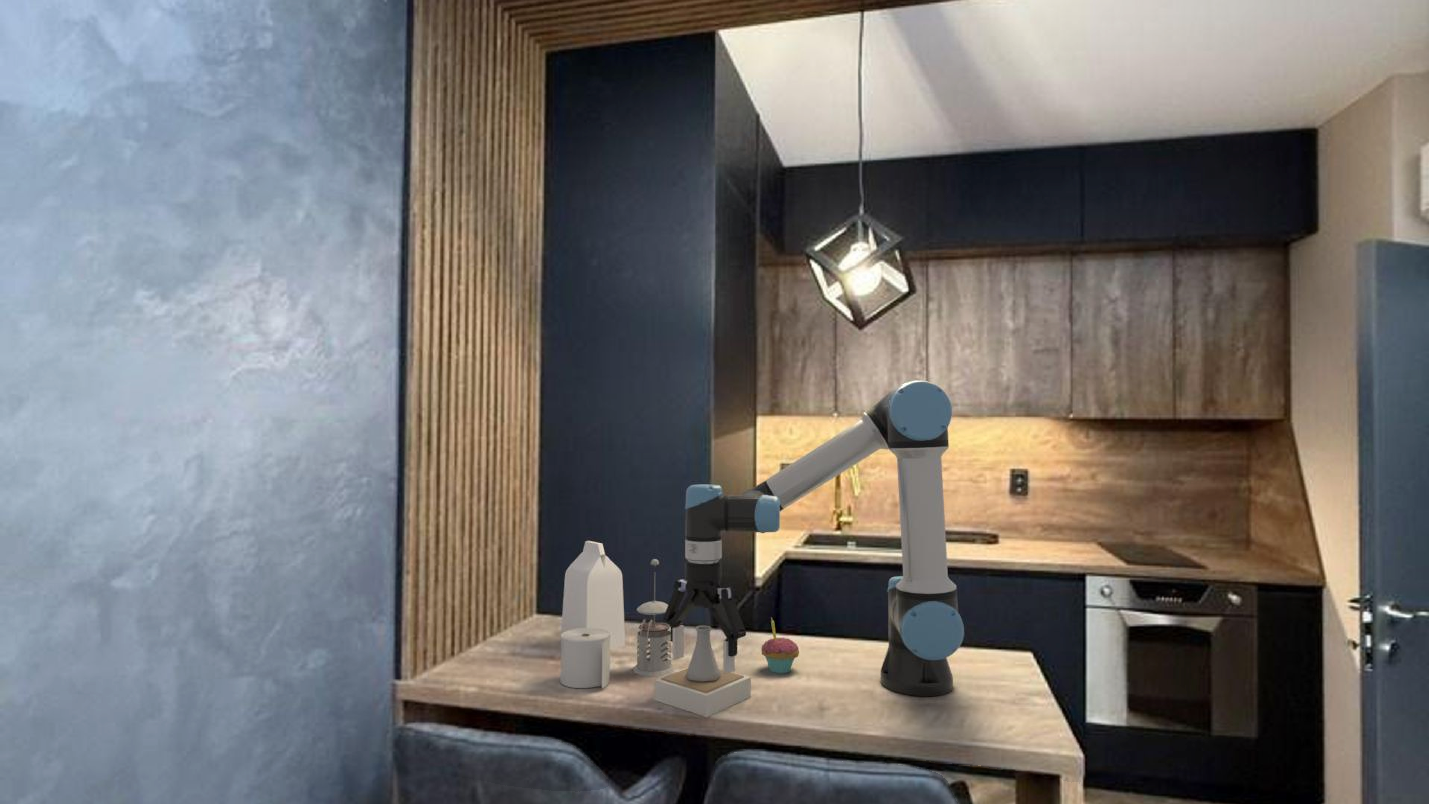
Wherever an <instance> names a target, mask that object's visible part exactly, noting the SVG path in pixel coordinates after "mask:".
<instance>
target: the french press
mask: <svg viewBox="0 0 1429 804" xmlns="http://www.w3.org/2000/svg"><path fill="white" fill-rule="evenodd" d="M659 564H660V562H659V560H658V559H656V558H653V559H651V561H650V565H652V566H659ZM653 580H654V583H653V585H654V589H653V591H654V592H653V593H654V594H653V595H654V597H653V600H652V601H648V602H645V603H642V604H641V605H639V606H638V607H637V608H636V612H637V613H639V614H641V615H646V616H647V615H648V616H653V619H650V621H647V620H646V618H644V619H643V620H642V622H641V624H640V625H638V629H639V631H637V633H636V634H637V637H636V638H637V642H636V644H637V646H636V650H637V652H636V656H637V657H636V664H635V666H633V668H632V671H634V672H633V673H634V674H636V673H637V675H639V676H643V677H663V676H666V675H669V674H671V673H674V672H675V671H676V667H675V666H674V665H673V664H672V643H671V630H669V629H671V627H670V625H669V624H668V623H667V622H656V616H657V615H664V614H665V612H666V609H667V607H668V604H667V603H665V602H664V601H657V600H656V573H654V579H653ZM646 621H647V622H646ZM668 641H669V642H668ZM668 647H669V648H668ZM674 670H675V671H674Z"/></svg>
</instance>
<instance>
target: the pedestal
mask: <svg viewBox="0 0 1429 804" xmlns="http://www.w3.org/2000/svg"><path fill="white" fill-rule="evenodd" d="M688 667H689V666H688ZM688 667H686V668H682V669H680V670H677V671H674V672H672V673H670V674H667V675H663V676H659V677H658V678H655V679H654V680H653V700H654V701H656V702H659V703H663V704H665V705H669V706H671V707H675V708H677V709H681V710H684V711H687V712H689V713H693V714H696V715H699V716H702V717H706V718H708V717H710V716H712V715H715V714H717V713H719V712H721V711H723V710H725V709H727V708H730V707H731V706H734V705H736V704H738V703H740V702H743V701H745V700H747V699H748V698H751V697H752V696H751V695H752V694H751V693H752V692H751V691H752V689H751V688H752V687H751V685H752V684H751V683H752V677H751V676H748V675H744V674H741V673H738V672H734V671H732V672H730V673H727V674H724V673H723V668H722V669H721V668H719V671H720V674H721V676H720V677H719V678H718V679H717V680H714V681H704V682H701V681H694V680H689V679H688V678H687V676H686V673H687V670H688ZM744 699H745V700H744Z"/></svg>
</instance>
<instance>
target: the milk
mask: <svg viewBox="0 0 1429 804" xmlns="http://www.w3.org/2000/svg"><path fill="white" fill-rule="evenodd" d="M564 573H565V574H564V585H563V586H564V588H563V599H562V600H563V601H562V614H561V615H562V616H561V617H562V618H561V630H560V631H561V632H560V635H561V634H563V632H566V631H569V630H573V629H577V628H599V629H604V630H607V631H609V632H610V651H612V650H611V649H613V650H616V649H615V648H617V649H619V648H618V647H621V648H625V647H626V631H625V609H624V583H623V582H624V581H623V572H622V570H621V569H620V568H619V566H617V564H615V563H614V562H613V561H612V560H611V559H610V558H609V556H607V555H606V552H605V549H604V545H603V543H602V542H601V543H600V542H597V541H591V540H586V541H585V542H584V546H583V550H582V552H581V553H580V554H579V555H578V556H577V557H576V558H575V560H574V561H572V562H571V563H570V565H569V566H568V568H567V569H566V570H565V572H564ZM624 646H625V647H624Z"/></svg>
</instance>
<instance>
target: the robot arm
mask: <svg viewBox="0 0 1429 804" xmlns="http://www.w3.org/2000/svg"><path fill="white" fill-rule="evenodd" d="M952 409H953V408H952V403H951V401H950V398H949V397H948V395H947V393H946V392H945V390H943V388H941V387H939V386H938V385H936V383H935V384H934V383H932V382H929V381H926V380H915V379H914V380H911V381H906V382H904V383H902V384H900V385H898V386H896V387H894V388H893V389H891V390H890V391H889V392H888V393H887V394H886V395H884V397H883V398H882V399H880V400H879V401H878V402H877V403H875V404H874V405H873V406H871V407H870V408H869V409H867V410H865V411H864V412H862V415H861V418H860V420H858V421H857V422H855V423H854V424H852V425H851V426H848V427H847V428H846V429H844V430H842V431H841V432H839V433H837V434H836V435H835V436H833V437H832V438H830V439H828V440H827V441H825V442H823V443H822V444H820V445H818V446H817V447H815V448H814V449H813V450H811V451H809V452H808V453H806V454H805V455H803V456H802V457H800V458H798V459H797V460H795V461H794V462H792V463H790V464H789V465H787V466H785V467H784V468H782V469H781V470H779V471H778V472H776V473H775V474H773V475H771V476H770V477H769V478H767V479H766V480H764V481H763V482H760V483H759V484H758V485H756V486H754V487H753V488H750V489H748V490H746V491H745V492H743V493H742V494H740V495H739V494H735V495H734V494H733V495H731V494H725V493H724V492H723V488H722V486H721V485H719V484H708V483H707V484H704V483H703V484H700V483H699V484H691V485H689V486H688V487H687V488H686V492H685V507H684V511H685V512H684V517H685V518H684V519H685V520H684V523H685V525H684V527H685V528H684V529H685V533H684V534H685V538H684V539H685V540H684V541H685V543H684V545H685V547H684V548H685V553H684V557H685V559H686V562H684V578H683V579H678V580H675V582H674V586H673V587H674V588H673V593H672V595H671V597H670V599H669V603H668V604H667V605H668V607H667V609H666V612H665V614H663V618H662V620H663V623H666V624H668V625H669V626H670V632H671V641H670V643H671V642H672V660H673V661H676V660H678V659H679V660H680V659H682V658H684V657H685V653H684V652H685V650H684V649H685V625H682V624H683V621H684V620H685V618H686V617H687V616H688V615H689V613H690V612H691V610H692V609H693V608H694V606H695V607H699V606H700V607H702V608H704V609H705V608H707V609H708V611H709V612H711V613H712V615H713V617H714V618H715V620H716V622H717V623H718V625H719V627H720V628H721V631H722V632H723V634H724V636H725V637H726V638H725V639H723V643H722V644H723V645H722V646H723V647H722V648H723V649H722V650H723V653H722V655H723V656H722V658H723V660H722V661H723V662H722V666H723V667H722V669H723V673H724V674H727V673H730V672H734V671H735V670H736V669H735V664H736V663H735V660H736V659H735V658H736V656H737V654H738V641H739V639H740V638H744V637H746V635H747V632H746V629H745V625H744V623H743V620H742V617H741V615H740V613H739V609H738V607H737V604H736V602H735V597H734V589H733V587H732V586H729V587H726V588H724V587H723V588H722V587H721V585H720V583H721V580H722V569H723V568H722V566H723V565H722V562H721V559H722V556H723V551H722V550H723V548H722V547H723V546H722V542H723V540H722V537H723V536H722V533H723V532H725V533H729V532H737V533H738V532H739V533H760V534H766V533H777V532H778V531H779V530H780V525H781V524H780V519H781V517H780V516H781V512H782V511H783V510H784V509H786V508H788V507H790V506H791V505H792V504H794V503H796V502H797V501H799V500H800V499H803V498H804V497H806V496H807V495H809V494H810V493H813V492H814V491H815V490H816V489H819V488H820V487H821V486H823V485H824V484H826V483H828V482H829V481H831V480H833V479H834V478H836V477H837V476H839V475H841V474H842V473H843V472H845V471H847V470H848V469H850V468H852V467H853V466H855V465H857V464H858V463H860V462H861V461H863V460H864V459H866V458H868V457H869V456H871V455H872V454H874V453H876V452H878V451H879V450H886V451H887V450H889V452H891V453H892V454H893V455H894V456H895V458H896V464H897V468H896V469H897V482H898V500H899V501H898V503H899V505H898V506H899V521H900V522H899V524H900V539H901V540H900V541H901V542H900V543H901V561H902V575H900V576H898V575H897V576H893V577H891V578H890V579H889V580H888V588H887V594H888V596H887V597H888V598H887V601H888V604H887V605H888V646H887V649H886V653H885V657H884V660H883V661H882V665H881V669H880V684H881V685H882V686H884V687H885V688H886V689H888V690H891V691H893V692H895V693H899V694H904V695H908V696H916V697H918V696H919V697H936V696H942V695H947V694H949V693H951V692H952V691H953V689H954V676H953V674H952V670H951V667H950V664H949V661H948V658H949V657H951V656H952V655H953V654H954V653H956V652H957V651H958V649H959V648H960V647H961V645H962V643H963V641H964V637H965V627H964V623H963V619H962V617H961V615H960V613H959V607H958V606H959V605H958V590H957V584H956V583H954V582H953V580H951V579H950V577H949V575H948V556H947V537H946V520H945V519H946V518H945V517H946V516H945V502H944V500H945V499H944V485H943V483H944V482H943V480H944V479H943V465H942V462H943V461H942V456H943V454H944V453H946V451H947V450H948V449H949V447H950V446H949V444H950V443H949V428H948V427H949V425H950V424H951V420H952V415H953V413H952V412H953V410H952ZM685 593H687V595H686V597H685ZM684 597H685V598H684ZM683 599H684V600H683ZM682 601H683V603H682ZM681 604H682V605H681Z"/></svg>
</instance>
